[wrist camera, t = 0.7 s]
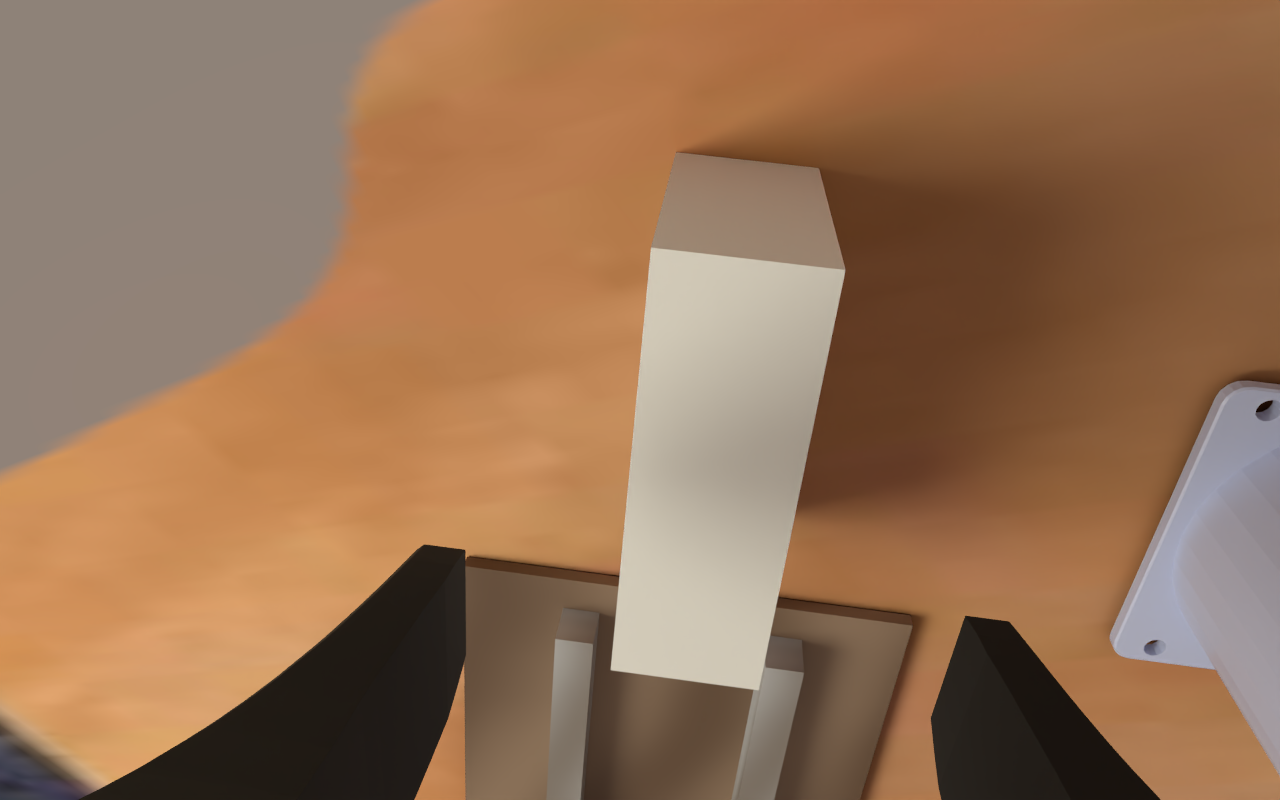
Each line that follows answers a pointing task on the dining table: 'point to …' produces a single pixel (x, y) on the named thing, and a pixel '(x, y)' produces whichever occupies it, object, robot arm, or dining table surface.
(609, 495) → the dining table surface
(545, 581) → the track board
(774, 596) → the cream rectangular block
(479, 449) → the dining table surface
